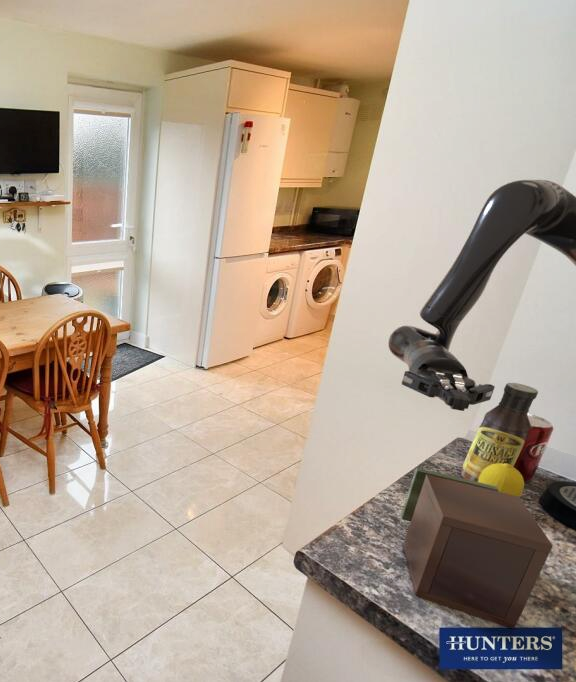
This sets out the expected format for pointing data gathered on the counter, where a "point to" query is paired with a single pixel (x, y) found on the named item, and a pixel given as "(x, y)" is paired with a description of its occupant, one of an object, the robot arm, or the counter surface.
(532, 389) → the sauce bottle
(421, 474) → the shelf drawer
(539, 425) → the soda can
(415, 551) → the box
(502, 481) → the lemon
